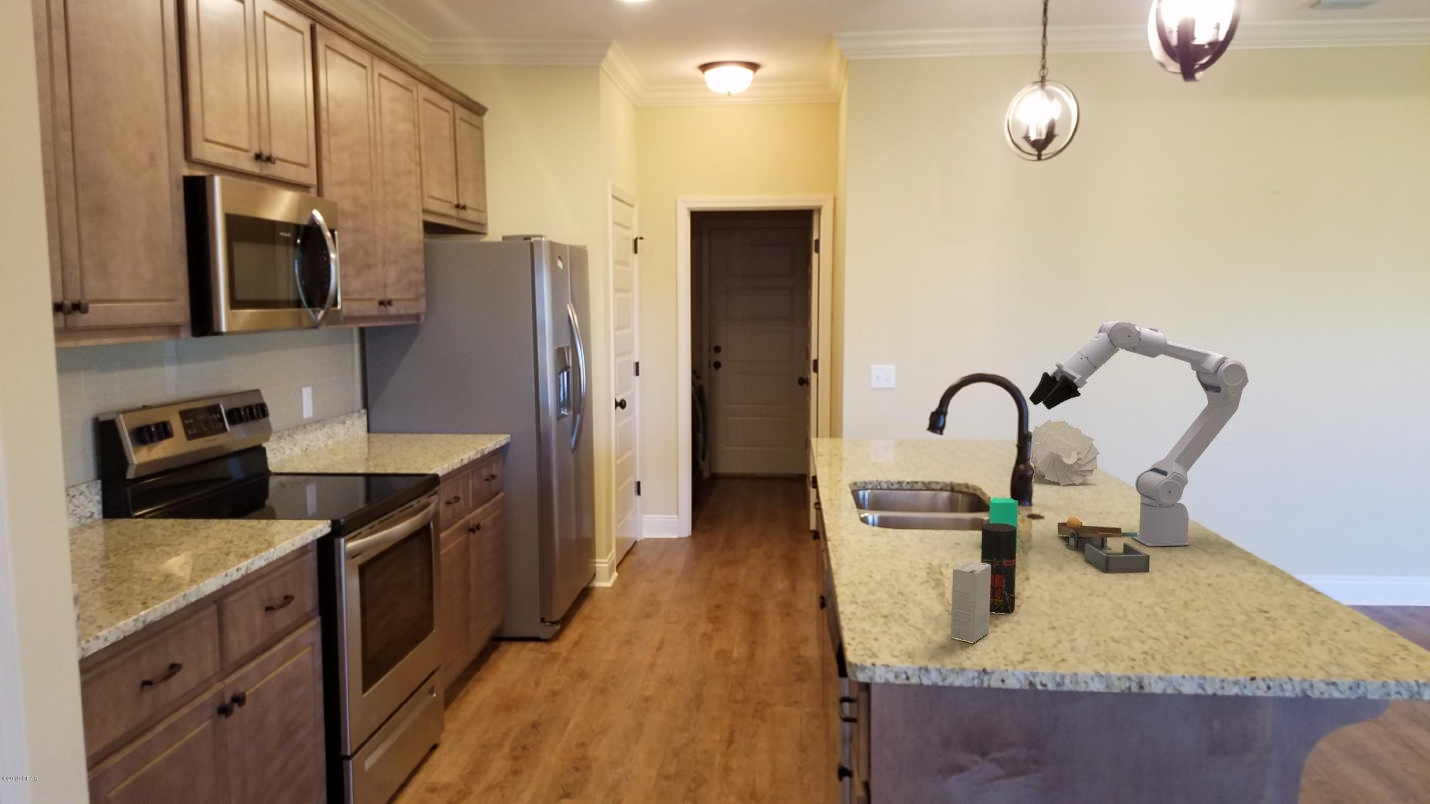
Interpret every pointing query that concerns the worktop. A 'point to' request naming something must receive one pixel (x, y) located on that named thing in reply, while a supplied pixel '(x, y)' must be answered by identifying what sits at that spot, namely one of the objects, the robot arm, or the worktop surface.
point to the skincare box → (970, 601)
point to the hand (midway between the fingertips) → (1038, 404)
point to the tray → (1118, 559)
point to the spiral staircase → (1063, 453)
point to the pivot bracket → (1086, 542)
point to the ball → (1073, 522)
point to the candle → (1004, 511)
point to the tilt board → (1094, 531)
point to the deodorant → (1000, 564)
